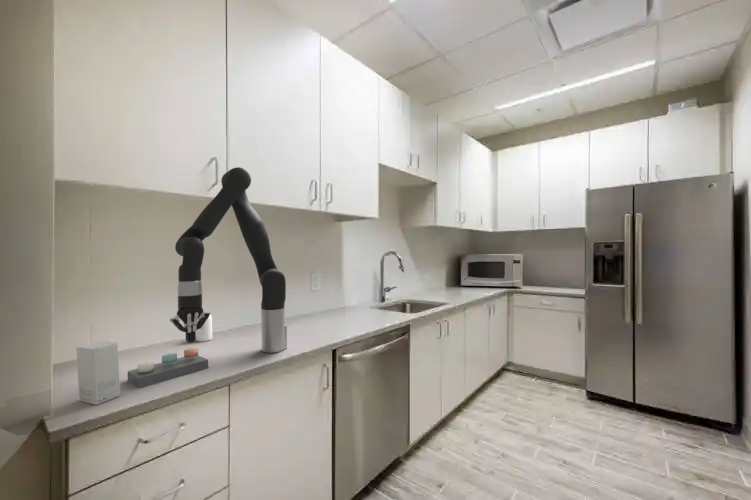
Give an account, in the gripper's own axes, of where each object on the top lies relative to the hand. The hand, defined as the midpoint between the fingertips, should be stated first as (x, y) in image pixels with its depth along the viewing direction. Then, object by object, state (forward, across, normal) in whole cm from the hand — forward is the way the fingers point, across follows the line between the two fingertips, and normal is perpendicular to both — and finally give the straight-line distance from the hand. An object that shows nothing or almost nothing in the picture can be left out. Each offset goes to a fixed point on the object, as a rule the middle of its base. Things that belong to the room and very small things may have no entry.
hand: (190, 342), depth 120 cm
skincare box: (+9, +27, +4) cm, 29 cm away
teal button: (+5, +7, 0) cm, 8 cm away
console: (+9, +7, 0) cm, 11 cm away
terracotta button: (+5, 0, 0) cm, 5 cm away
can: (+9, -20, -32) cm, 39 cm away
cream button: (+6, +14, 0) cm, 15 cm away
